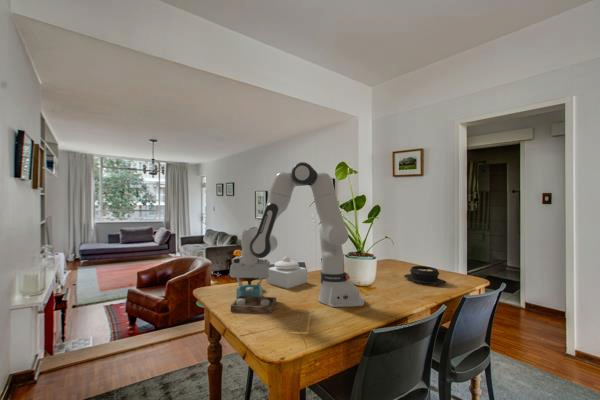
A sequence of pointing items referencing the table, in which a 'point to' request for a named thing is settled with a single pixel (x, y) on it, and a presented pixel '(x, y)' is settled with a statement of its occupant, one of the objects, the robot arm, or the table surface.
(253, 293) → the bowl
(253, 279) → the ice cream bowl
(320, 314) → the table surface
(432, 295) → the table surface
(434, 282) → the black hat
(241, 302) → the pebble
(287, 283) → the butter dish
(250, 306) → the tray
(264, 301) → the pebble
